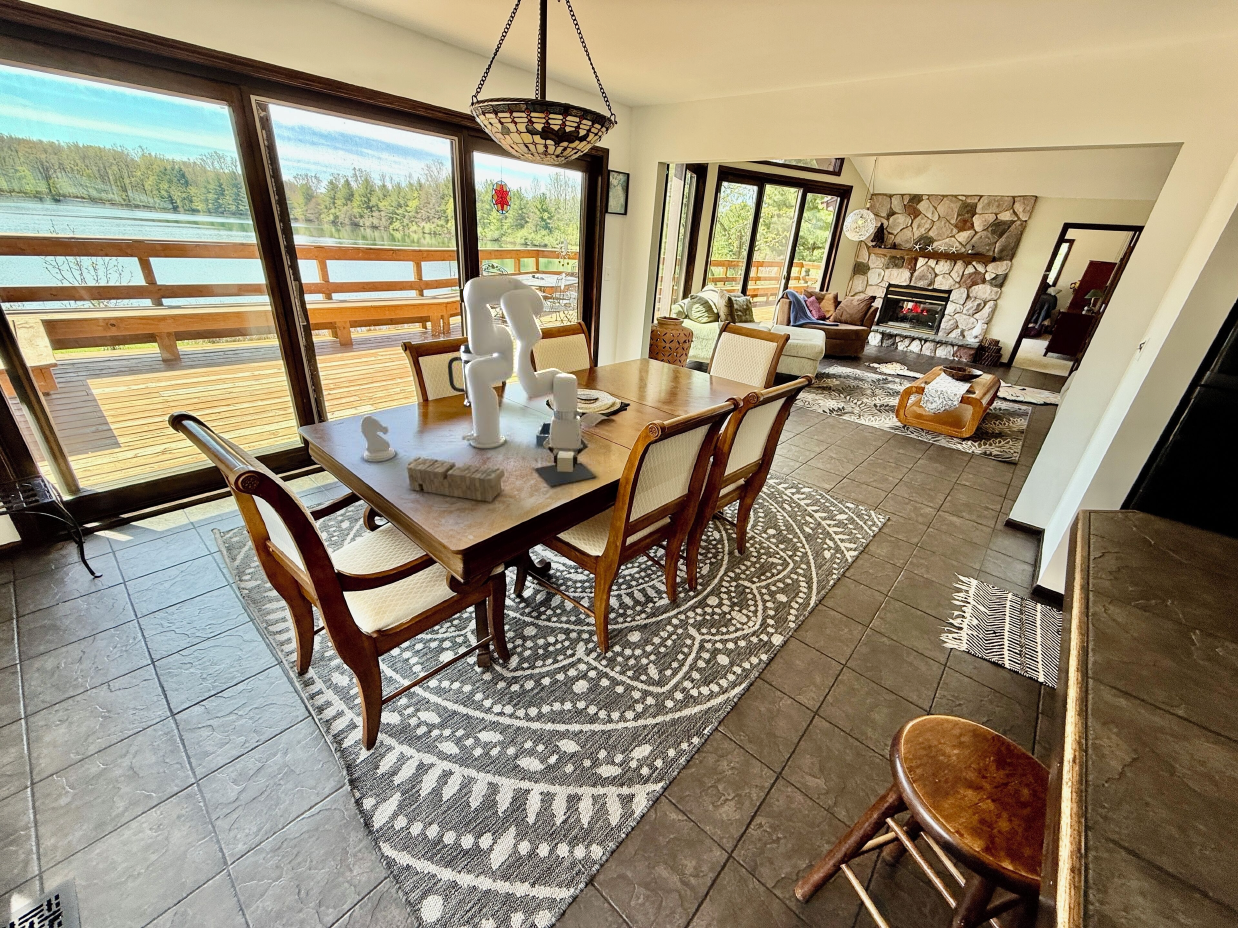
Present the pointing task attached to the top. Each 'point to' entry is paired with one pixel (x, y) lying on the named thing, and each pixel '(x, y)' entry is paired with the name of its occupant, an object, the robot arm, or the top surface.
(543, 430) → the bin
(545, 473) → the mat
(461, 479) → the block tower
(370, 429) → the chess piece
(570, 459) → the block
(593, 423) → the grey curved sheet
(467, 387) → the coffee press
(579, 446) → the robot arm
